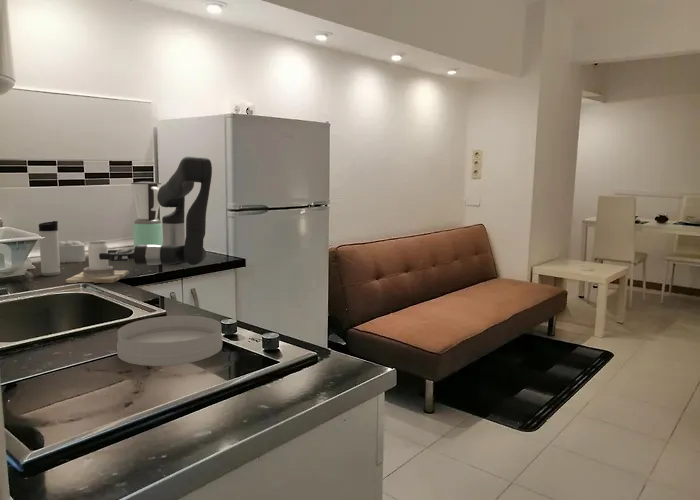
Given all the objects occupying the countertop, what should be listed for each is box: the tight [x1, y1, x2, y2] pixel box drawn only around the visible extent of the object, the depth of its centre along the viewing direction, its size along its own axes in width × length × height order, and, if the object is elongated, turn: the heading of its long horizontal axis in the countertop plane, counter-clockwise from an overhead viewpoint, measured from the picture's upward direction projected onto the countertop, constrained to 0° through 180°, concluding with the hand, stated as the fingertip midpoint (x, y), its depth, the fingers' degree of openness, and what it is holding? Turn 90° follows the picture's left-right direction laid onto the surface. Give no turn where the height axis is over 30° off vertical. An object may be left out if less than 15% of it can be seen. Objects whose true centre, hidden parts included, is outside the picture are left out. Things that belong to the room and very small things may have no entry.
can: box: [87, 241, 110, 270], centre depth 197 cm, size 6×6×12 cm
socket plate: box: [65, 265, 130, 284], centre depth 198 cm, size 18×16×4 cm
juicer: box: [130, 180, 163, 249], centre depth 258 cm, size 19×13×35 cm
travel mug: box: [38, 220, 61, 277], centre depth 203 cm, size 6×7×20 cm
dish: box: [116, 315, 223, 367], centre depth 119 cm, size 22×22×5 cm
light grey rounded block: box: [59, 239, 86, 264], centre depth 236 cm, size 10×13×9 cm
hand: (103, 254), depth 197 cm, fingers open, 8 cm apart
